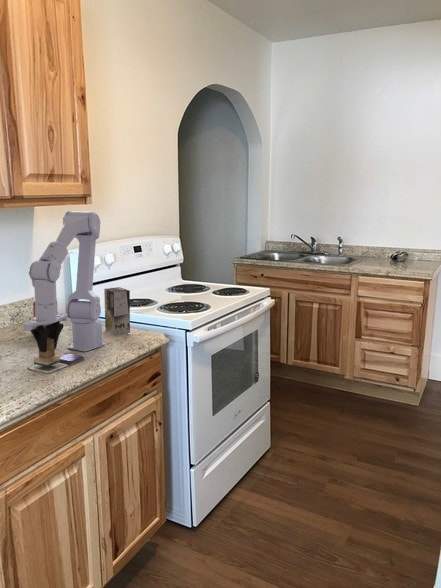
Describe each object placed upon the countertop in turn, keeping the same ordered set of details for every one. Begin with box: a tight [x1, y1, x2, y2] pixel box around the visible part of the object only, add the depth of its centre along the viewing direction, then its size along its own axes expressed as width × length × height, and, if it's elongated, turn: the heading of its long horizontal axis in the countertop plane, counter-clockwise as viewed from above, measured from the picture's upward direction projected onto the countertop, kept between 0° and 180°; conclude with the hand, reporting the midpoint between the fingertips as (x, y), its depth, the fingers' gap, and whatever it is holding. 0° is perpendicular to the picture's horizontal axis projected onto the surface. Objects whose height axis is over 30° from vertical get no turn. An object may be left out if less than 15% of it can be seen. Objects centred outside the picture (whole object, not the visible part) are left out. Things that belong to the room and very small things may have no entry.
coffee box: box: [103, 286, 131, 337], centre depth 181 cm, size 9×6×16 cm
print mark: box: [27, 363, 70, 375], centre depth 142 cm, size 8×8×1 cm
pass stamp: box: [33, 338, 61, 367], centre depth 142 cm, size 5×5×7 cm
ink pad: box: [59, 353, 86, 366], centre depth 148 cm, size 6×6×1 cm
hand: (47, 349), depth 141 cm, fingers closed on pass stamp, 3 cm apart
